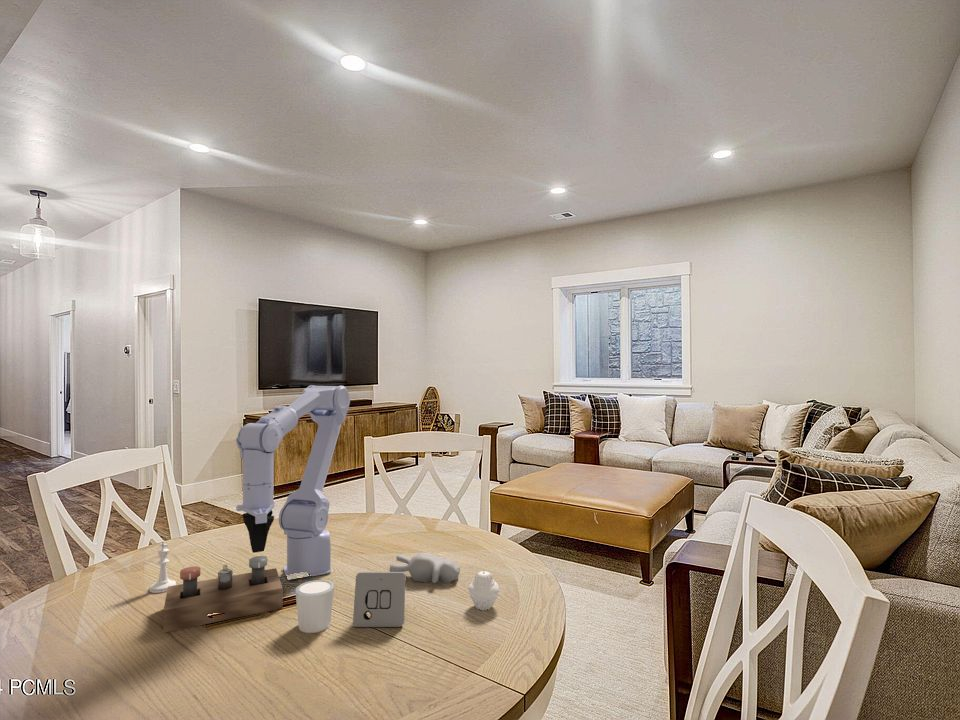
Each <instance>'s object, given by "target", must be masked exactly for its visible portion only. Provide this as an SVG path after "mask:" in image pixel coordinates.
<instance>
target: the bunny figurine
mask: <svg viewBox="0 0 960 720" xmlns="http://www.w3.org/2000/svg"><path fill="white" fill-rule="evenodd" d="M395 559H396V560H395V561H397V562H400V563H392V564H390V566H389V570H388V572H409V575H410V576H411V578H412V580H413V581H415V582H420V583H429V582H432V584H437V582H440V583H443V584H450V583H451V582H453V581H454V580H458V578H459V575H460V573H461V566H460V565H458V564H457V562H456V561H455V560H453V559H452V558H448V557H447V558H445V557H443V556H436V555H435V554H433V553H430V552H418V553H417V554H415V555H414V556H413V557H409V556H407V555H404V554H398V555H396V558H395ZM401 563H402V564H401Z"/></svg>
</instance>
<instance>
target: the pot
mask: <svg viewBox="0 0 960 720" xmlns="http://www.w3.org/2000/svg"><path fill="white" fill-rule="evenodd" d="M232 576H233V569H231V568H228V564H223V565H222V569H220V570H219V571H218V572H217V578H218V590H227V589H230V588H231V587H232Z"/></svg>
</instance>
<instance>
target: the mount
mask: <svg viewBox="0 0 960 720" xmlns="http://www.w3.org/2000/svg"><path fill="white" fill-rule="evenodd" d="M283 589H284V588H283V585H282V582H281V579H280V576H279V573H278V569H277V568H270V569H265V584H259V585H254V586H252V571H251V572H247V573H245V572H244V573H240V574H235V575H233V574H232V587H231V588H230V589H227V590H218V577H216V578H210V579H205V580H200V581H199V580H197V596H193V597H188V598H183V583H181V584H176V585H174V586H169V587H168V589H167V591H166V596H165V601H164V605H163V617H162V619H163V621H162V622H163V630H162V631H163V634H165V633H169V632H174V631H179V630H183V629H188V628H193V627H198V626H199V627H200V626H202V625H209V624H212V623H218V622H221V621H222V622H223V621H227V620H232V619H233V620H234V619H238V618H241V617H247V616H251V615H252V616H253V615H257V614H261V613H262V614H263V613H266V612H270V611H276V610H282V609H283V605H284V604H283V595H284V594H283ZM213 613H225V614H224V615H223V614H222V615H220V616H215V617H213V618H209V617H208V616H207V615H208V614H213Z"/></svg>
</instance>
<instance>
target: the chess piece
mask: <svg viewBox="0 0 960 720" xmlns="http://www.w3.org/2000/svg"><path fill="white" fill-rule="evenodd" d="M158 545H159V547H161V549H159V550H158V551H157V553H158V555H159V560H158V561H157V564H158V565H160V569H159V574H158V575H159V576H158V580H156V582H154V583H152V584H151V585H150V587H149V592H150V593H152V594H160V593H162V594H163V593H167V589H168V587H169V586H174V585H177V582H176V580H173V579H170V578H169V577H168V571H167V570H168V569H167V564H168V563H169V562H170V560H169V559H167V558H168V555H169V554H168V553H169V552H170V549H168V548H167V547H168V546H169V544H168V543H166V541H165V540H162V541H161V543H159V544H158Z"/></svg>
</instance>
